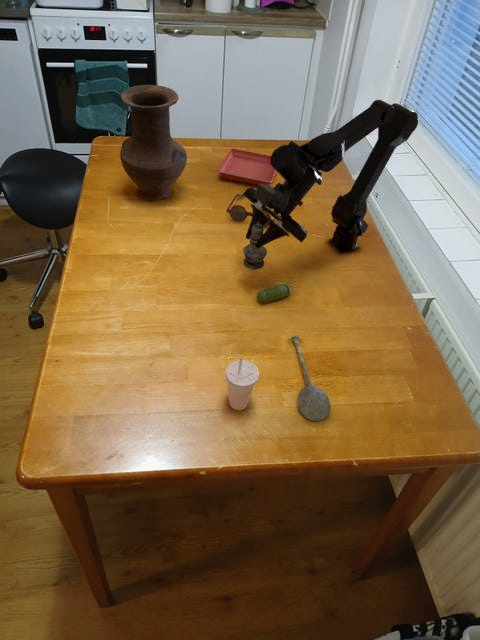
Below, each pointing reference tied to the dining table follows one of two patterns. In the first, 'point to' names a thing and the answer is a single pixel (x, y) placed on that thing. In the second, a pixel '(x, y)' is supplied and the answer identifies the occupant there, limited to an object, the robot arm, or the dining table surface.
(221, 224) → the dining table surface
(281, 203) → the robot arm
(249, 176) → the plant saucer
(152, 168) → the vase
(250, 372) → the smoothie
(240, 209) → the eyeglasses
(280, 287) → the pickle
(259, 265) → the chess piece
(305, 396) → the soupspoon
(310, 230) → the dining table surface
